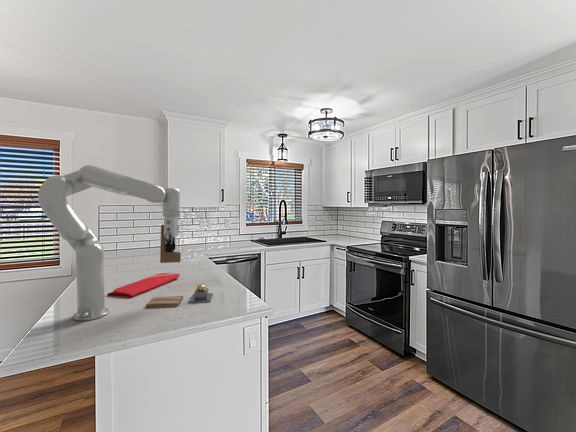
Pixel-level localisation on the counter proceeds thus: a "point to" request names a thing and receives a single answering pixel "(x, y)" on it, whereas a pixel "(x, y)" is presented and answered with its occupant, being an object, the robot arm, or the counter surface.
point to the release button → (201, 287)
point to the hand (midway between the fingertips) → (170, 250)
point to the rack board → (164, 301)
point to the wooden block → (167, 256)
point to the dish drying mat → (143, 285)
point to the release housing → (201, 296)
